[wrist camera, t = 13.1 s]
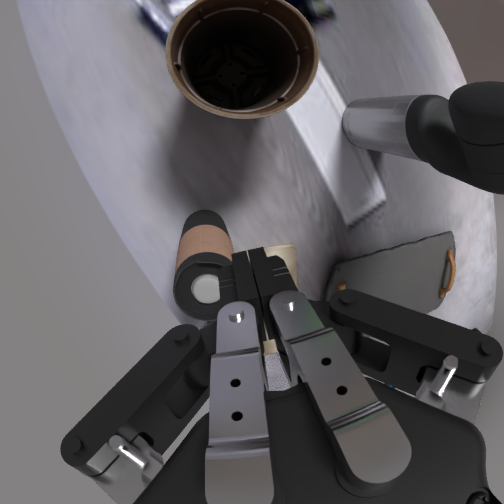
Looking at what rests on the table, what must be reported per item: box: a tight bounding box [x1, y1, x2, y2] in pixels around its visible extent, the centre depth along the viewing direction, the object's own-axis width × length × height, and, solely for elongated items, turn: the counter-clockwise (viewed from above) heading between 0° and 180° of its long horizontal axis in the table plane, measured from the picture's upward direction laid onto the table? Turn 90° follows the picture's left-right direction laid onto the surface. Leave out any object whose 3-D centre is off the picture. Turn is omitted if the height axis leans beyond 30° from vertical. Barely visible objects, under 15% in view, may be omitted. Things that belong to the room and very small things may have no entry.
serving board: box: [324, 231, 456, 337], centre depth 58 cm, size 39×23×6 cm, turn 100°
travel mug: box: [173, 210, 234, 321], centre depth 39 cm, size 8×8×20 cm
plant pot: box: [165, 0, 319, 119], centre depth 31 cm, size 16×16×16 cm
